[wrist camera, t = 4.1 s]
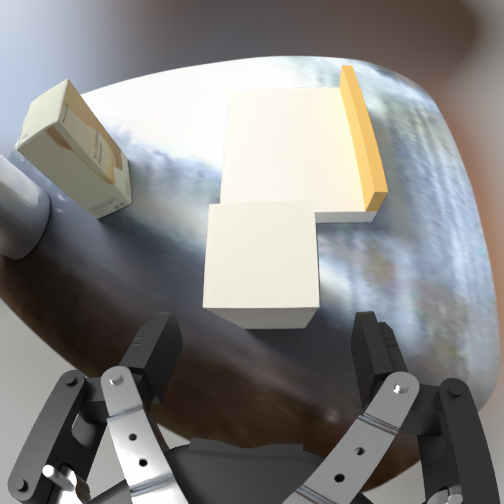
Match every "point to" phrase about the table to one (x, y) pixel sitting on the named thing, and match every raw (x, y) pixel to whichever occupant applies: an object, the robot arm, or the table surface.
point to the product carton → (262, 264)
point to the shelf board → (304, 150)
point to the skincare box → (75, 151)
